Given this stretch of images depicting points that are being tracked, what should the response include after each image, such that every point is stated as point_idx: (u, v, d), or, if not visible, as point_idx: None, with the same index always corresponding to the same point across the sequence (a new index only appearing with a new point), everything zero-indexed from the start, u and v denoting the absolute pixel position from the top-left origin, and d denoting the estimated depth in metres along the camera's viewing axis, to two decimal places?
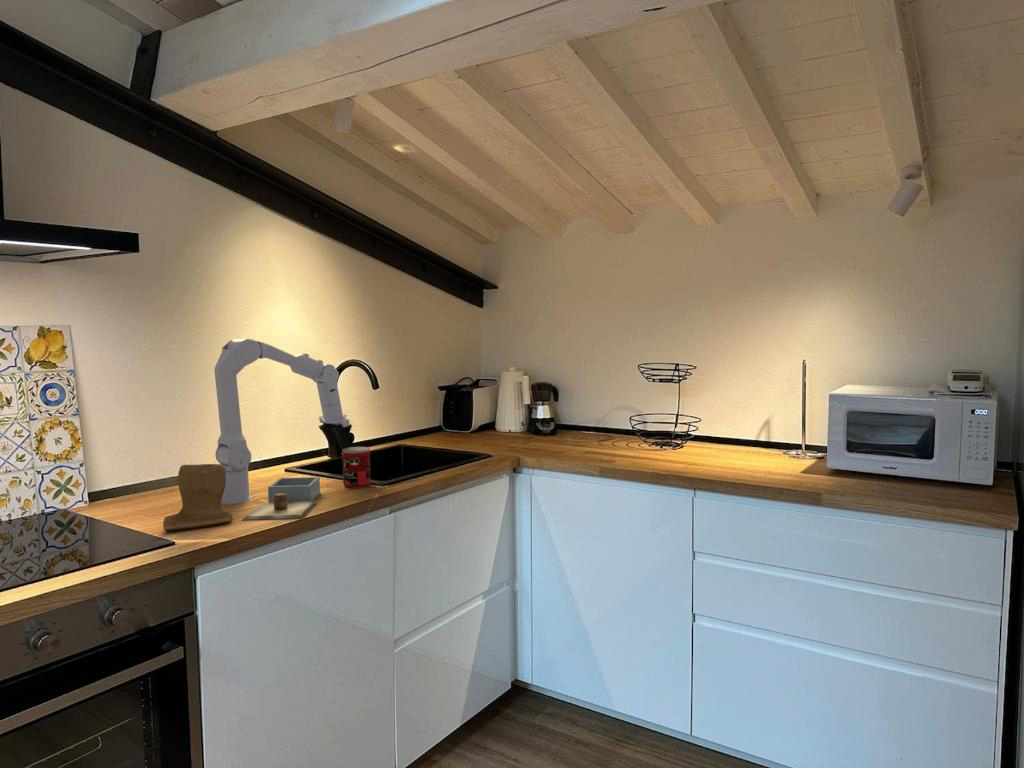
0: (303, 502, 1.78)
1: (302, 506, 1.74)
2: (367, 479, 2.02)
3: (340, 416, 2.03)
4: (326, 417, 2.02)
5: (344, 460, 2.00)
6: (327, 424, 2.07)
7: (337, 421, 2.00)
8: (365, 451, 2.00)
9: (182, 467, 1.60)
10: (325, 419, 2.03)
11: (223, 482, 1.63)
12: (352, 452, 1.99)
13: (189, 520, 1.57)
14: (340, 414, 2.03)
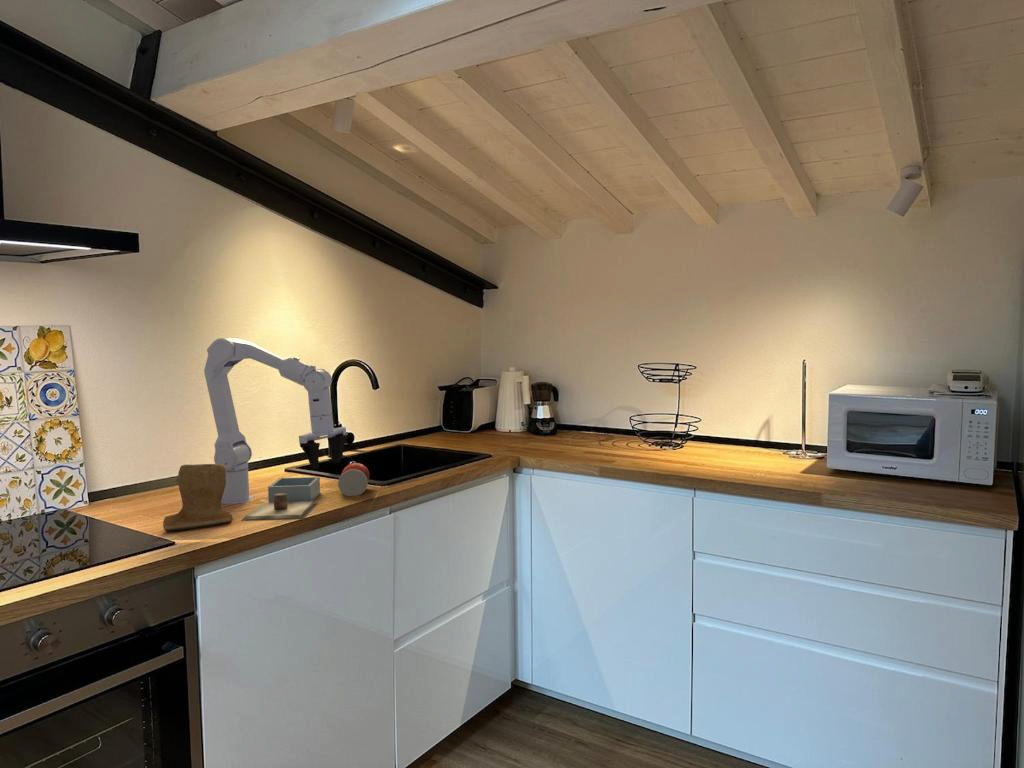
0: (303, 502, 1.78)
1: (302, 506, 1.74)
2: None
3: (317, 431, 1.80)
4: None
5: None
6: (332, 437, 1.86)
7: None
8: (362, 492, 1.90)
9: (182, 467, 1.60)
10: None
11: (223, 482, 1.63)
12: None
13: (189, 520, 1.57)
14: (317, 429, 1.79)
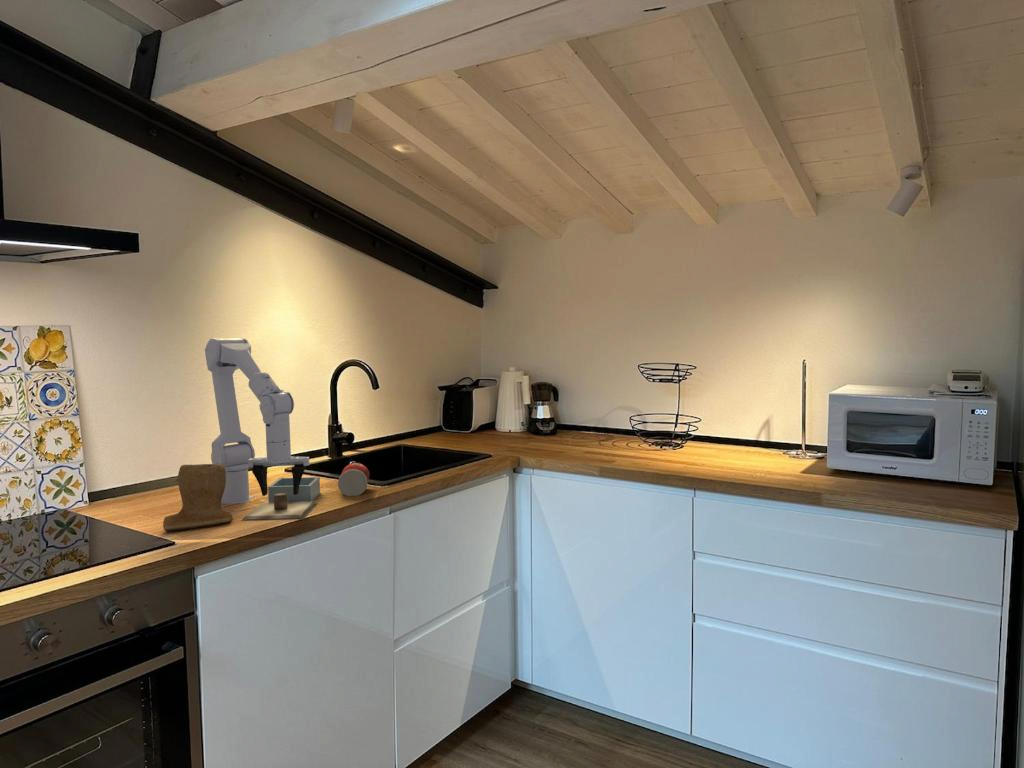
0: (303, 502, 1.78)
1: (302, 506, 1.74)
2: None
3: (266, 457, 1.70)
4: None
5: None
6: None
7: None
8: (362, 492, 1.90)
9: (182, 467, 1.60)
10: None
11: (223, 482, 1.63)
12: None
13: (189, 520, 1.57)
14: None
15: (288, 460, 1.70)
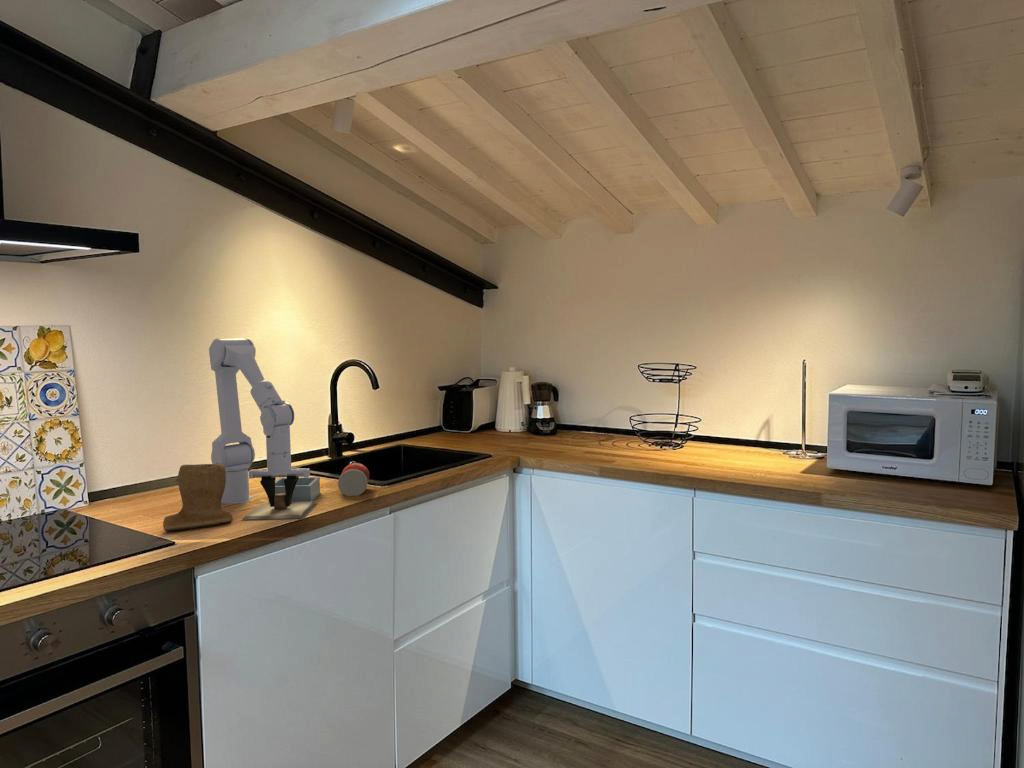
0: (303, 502, 1.78)
1: (302, 506, 1.74)
2: None
3: (267, 469, 1.71)
4: None
5: None
6: None
7: None
8: (362, 492, 1.90)
9: (182, 467, 1.60)
10: None
11: (223, 482, 1.63)
12: None
13: (189, 520, 1.57)
14: (267, 466, 1.70)
15: (288, 472, 1.70)
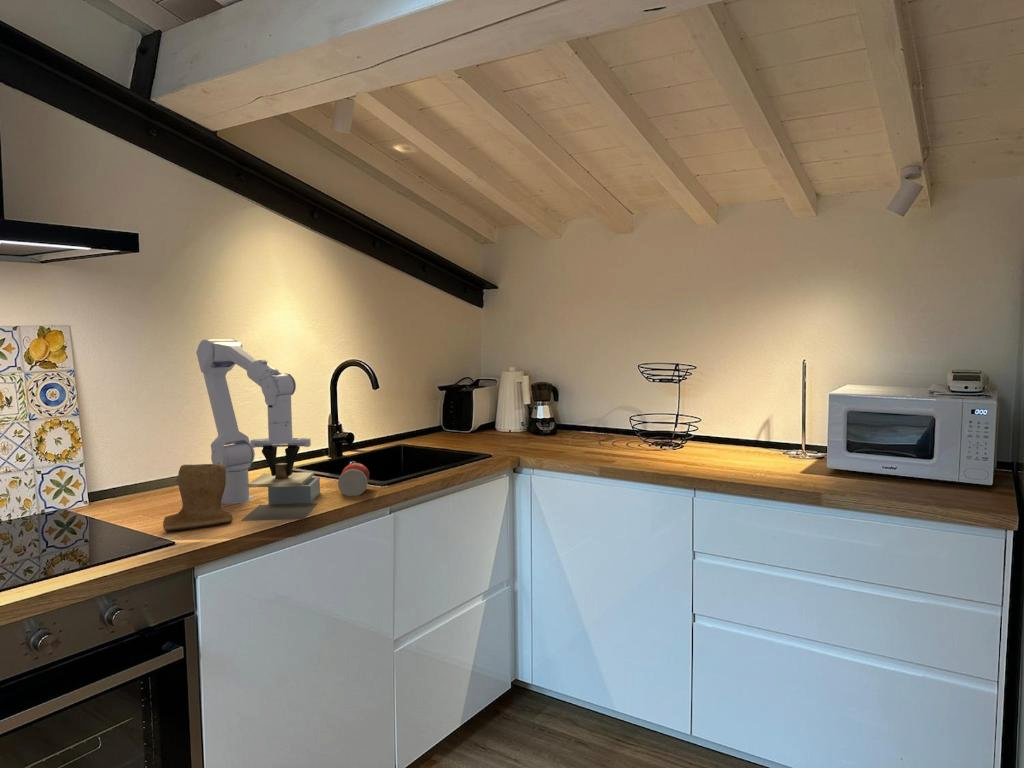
0: (304, 473, 1.80)
1: (303, 476, 1.76)
2: None
3: (268, 438, 1.72)
4: None
5: None
6: None
7: None
8: (362, 492, 1.90)
9: (182, 467, 1.60)
10: None
11: (223, 482, 1.63)
12: None
13: (189, 520, 1.57)
14: None
15: (289, 441, 1.71)
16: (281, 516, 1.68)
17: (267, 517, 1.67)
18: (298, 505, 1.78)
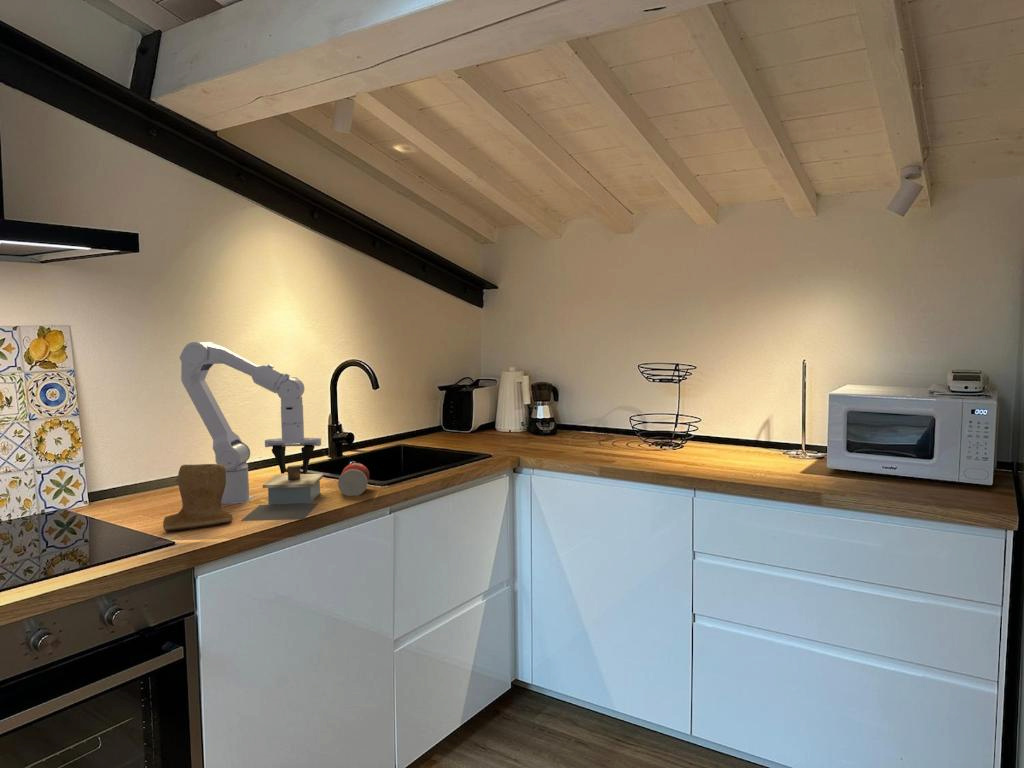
0: (314, 474, 1.92)
1: (314, 477, 1.88)
2: None
3: (281, 438, 1.84)
4: None
5: None
6: None
7: None
8: (362, 492, 1.90)
9: (182, 467, 1.60)
10: None
11: (223, 482, 1.63)
12: None
13: (189, 520, 1.57)
14: None
15: (301, 441, 1.83)
16: (281, 516, 1.68)
17: (267, 517, 1.67)
18: (298, 505, 1.78)
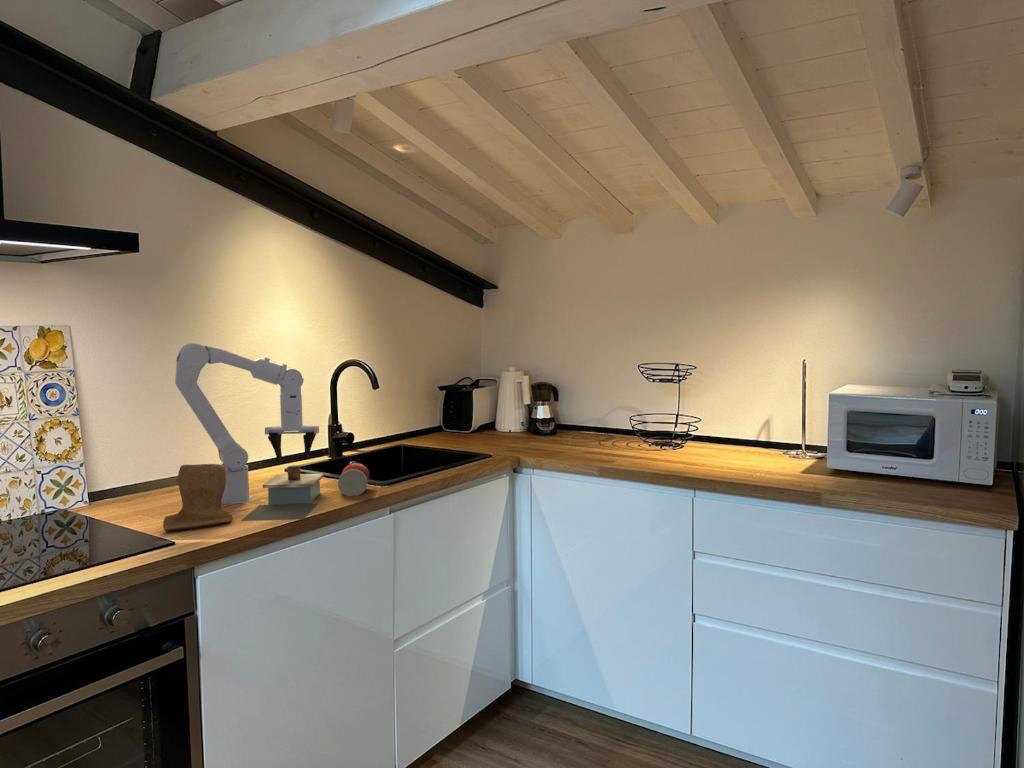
0: (314, 474, 1.92)
1: (314, 477, 1.88)
2: None
3: (281, 426, 1.91)
4: None
5: None
6: None
7: None
8: (362, 492, 1.90)
9: (182, 467, 1.60)
10: None
11: (223, 482, 1.63)
12: None
13: (189, 520, 1.57)
14: (281, 424, 1.91)
15: (300, 428, 1.90)
16: (281, 516, 1.68)
17: (267, 517, 1.67)
18: (298, 505, 1.78)
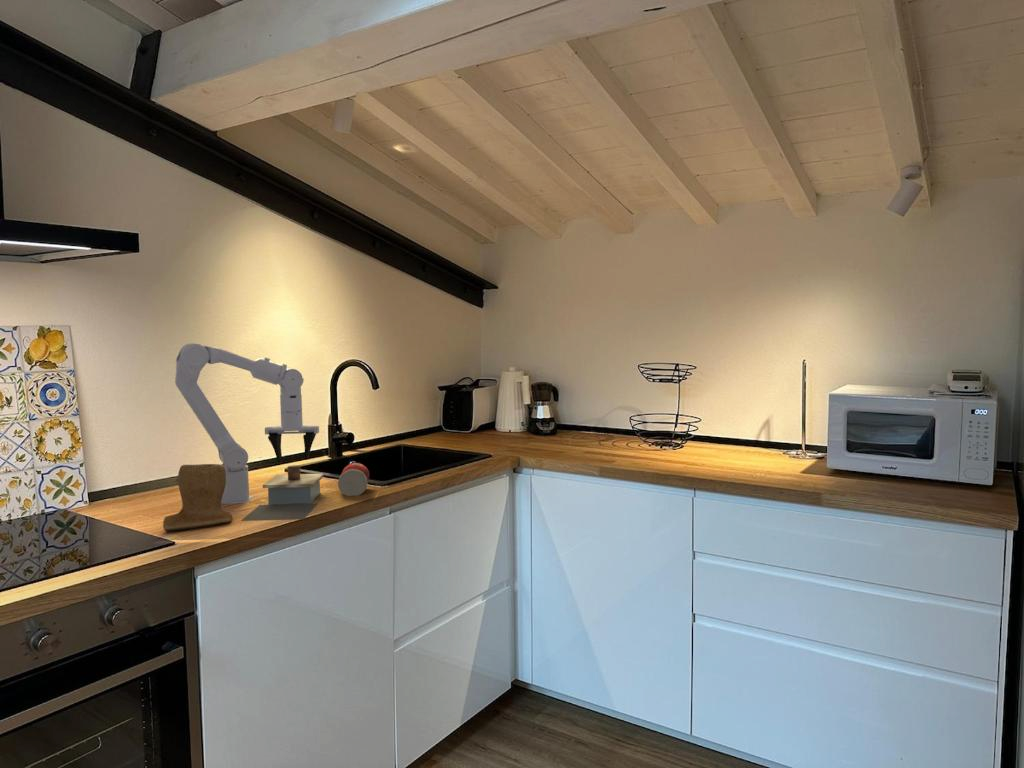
0: (314, 474, 1.92)
1: (314, 477, 1.88)
2: None
3: (281, 426, 1.91)
4: None
5: None
6: None
7: None
8: (362, 492, 1.90)
9: (182, 467, 1.60)
10: None
11: (223, 482, 1.63)
12: None
13: (189, 520, 1.57)
14: (281, 424, 1.91)
15: (300, 428, 1.90)
16: (281, 516, 1.68)
17: (267, 517, 1.67)
18: (298, 505, 1.78)
